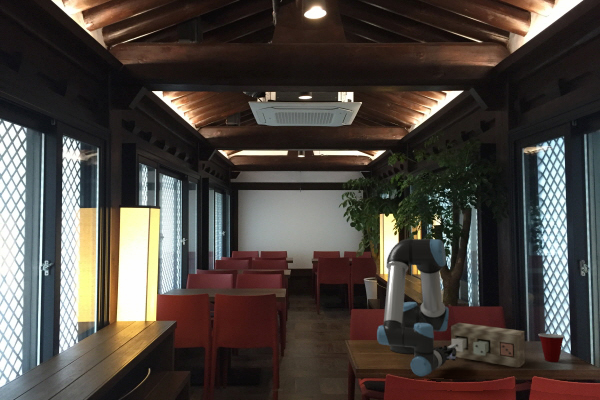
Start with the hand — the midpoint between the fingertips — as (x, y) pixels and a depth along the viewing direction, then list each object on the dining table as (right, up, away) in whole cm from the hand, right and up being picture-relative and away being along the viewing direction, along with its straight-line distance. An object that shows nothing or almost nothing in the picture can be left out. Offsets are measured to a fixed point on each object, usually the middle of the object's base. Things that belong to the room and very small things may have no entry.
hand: (454, 347), depth 211 cm
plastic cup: (+46, -8, +4) cm, 47 cm away
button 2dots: (+13, -2, 0) cm, 13 cm away
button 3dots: (+24, -2, -1) cm, 24 cm away
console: (+17, -7, +6) cm, 20 cm away
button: (+5, -3, +6) cm, 8 cm away
